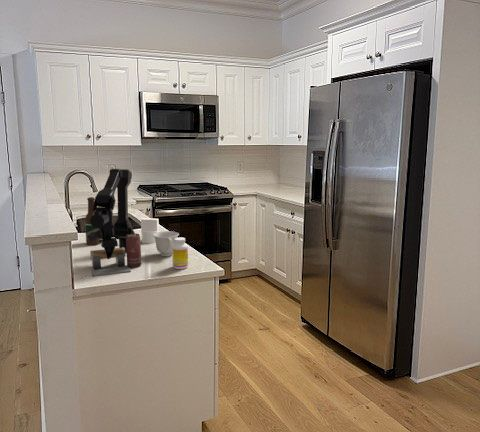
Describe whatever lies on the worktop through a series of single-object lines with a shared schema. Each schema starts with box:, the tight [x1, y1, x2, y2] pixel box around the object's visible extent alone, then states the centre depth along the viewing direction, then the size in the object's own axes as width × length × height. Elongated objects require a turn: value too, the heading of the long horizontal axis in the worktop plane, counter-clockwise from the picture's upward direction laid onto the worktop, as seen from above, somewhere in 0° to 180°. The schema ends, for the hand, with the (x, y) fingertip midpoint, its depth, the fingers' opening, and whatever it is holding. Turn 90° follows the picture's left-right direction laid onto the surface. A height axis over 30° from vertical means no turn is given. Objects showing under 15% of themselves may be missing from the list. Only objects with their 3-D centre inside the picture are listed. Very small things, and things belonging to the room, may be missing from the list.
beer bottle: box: [84, 196, 101, 246], centre depth 226 cm, size 8×8×24 cm
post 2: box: [115, 254, 126, 267], centre depth 195 cm, size 6×3×6 cm, turn 23°
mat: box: [91, 265, 131, 278], centre depth 186 cm, size 6×15×1 cm, turn 113°
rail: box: [89, 247, 127, 261], centre depth 193 cm, size 3×14×3 cm, turn 113°
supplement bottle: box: [171, 236, 189, 270], centre depth 192 cm, size 7×7×13 cm
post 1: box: [91, 256, 102, 270], centre depth 191 cm, size 6×3×6 cm, turn 23°
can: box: [125, 232, 142, 269], centre depth 193 cm, size 6×6×14 cm
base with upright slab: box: [140, 217, 160, 245], centre depth 233 cm, size 9×9×12 cm
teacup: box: [153, 230, 180, 257], centre depth 209 cm, size 12×15×10 cm
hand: (108, 257), depth 193 cm, fingers open, 4 cm apart
